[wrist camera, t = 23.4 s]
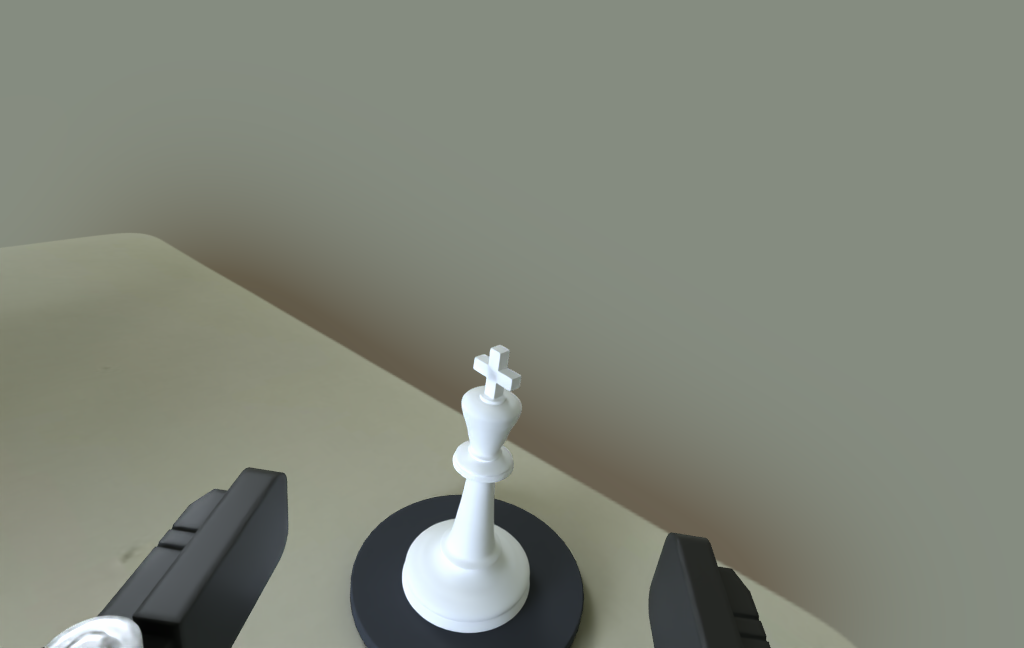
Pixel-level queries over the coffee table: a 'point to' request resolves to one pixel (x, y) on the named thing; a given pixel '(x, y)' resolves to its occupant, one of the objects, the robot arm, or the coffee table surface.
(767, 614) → the coffee table surface
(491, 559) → the chess piece
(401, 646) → the coaster
